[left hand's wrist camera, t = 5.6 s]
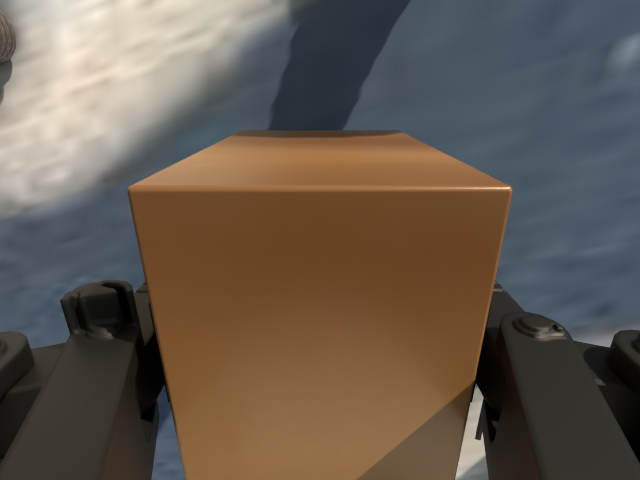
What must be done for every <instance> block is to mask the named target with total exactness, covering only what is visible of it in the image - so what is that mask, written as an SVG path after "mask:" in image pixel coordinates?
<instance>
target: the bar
mask: <svg viewBox="0 0 640 480" xmlns="http://www.w3.org/2000/svg"><path fill="white" fill-rule="evenodd" d="M512 193H513V192H512V187H511V186H509V185H507V184H505V183H503V182H501V181H499V180H497V179H495V178H493V177H491V176H489V175H487V174H485V173H483V172H481V171H479V170H477V169H475V168H473V167H471V166H469V165H467V164H465V163H463V162H461V161H459V160H457V159H455V158H453V157H451V156H449V155H447V154H445V153H443V152H441V151H439V150H437V149H435V148H433V147H431V146H428V145H426V144H424V143H422V142H420V141H418V140H416V139H414V138H412V137H410V136H408V135H406V134H404V133H402V132H400V131H398V130H242V131H240V132H238V133H236V134H234V135H232V136H230V137H228V138H226V139H224V140H222V141H220V142H218V143H216V144H214V145H212V146H210V147H208V148H206V149H204V150H202V151H200V152H198V153H196V154H194V155H192V156H190V157H188V158H186V159H184V160H182V161H180V162H178V163H176V164H174V165H172V166H170V167H168V168H166V169H164V170H162V171H160V172H158V173H156V174H154V175H152V176H150V177H148V178H146V179H143V180H141V181H139V182H137V183H135V184H133V185H131V186H129V188H128V197H129V202H130V207H131V212H132V217H133V222H134V227H135V232H136V237H137V242H138V246H139V251H140V256H141V261H142V266H143V271H144V276H145V281H146V286H147V291H148V296H149V301H150V306H151V311H152V316H153V321H154V326H155V331H156V336H157V341H158V346H159V351H160V356H161V361H162V366H163V371H164V376H165V381H166V386H167V391H168V395H169V400H170V405H171V410H172V415H173V420H174V425H175V430H176V435H177V440H178V445H179V450H180V455H181V460H182V465H183V470H184V475H185V480H455V476H456V471H457V466H458V461H459V456H460V451H461V446H462V441H463V436H464V431H465V426H466V421H467V416H468V411H469V406H470V401H471V396H472V392H473V387H474V382H475V377H476V372H477V367H478V362H479V357H480V352H481V347H482V342H483V337H484V332H485V327H486V322H487V317H488V312H489V307H490V302H491V297H492V292H493V287H494V282H495V277H496V272H497V267H498V262H499V257H500V252H501V247H502V242H503V237H504V232H505V227H506V222H507V217H508V212H509V207H510V202H511V198H512Z"/></svg>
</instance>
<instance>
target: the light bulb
mask: <svg viewBox="0 0 640 480" xmlns="http://www.w3.org/2000/svg"><path fill="white" fill-rule="evenodd" d="M15 48H16V37H15V32H14V29H13V27H12V25H11V23H10V21H9V19H8V18H7V16H6V15H5V14H4V12H3V11H2V10H1V9H0V64H3V63H5V62H6V61H8V60H9V59H10V58H11V57H12V55H13V54H14V51H15Z"/></svg>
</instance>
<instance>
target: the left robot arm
mask: <svg viewBox="0 0 640 480" xmlns="http://www.w3.org/2000/svg"><path fill="white" fill-rule="evenodd" d="M60 302H61V305H62V309H63V312H64V315H65V319H66V322H67V325H68V328H69V332H70V336H69V338H68V340H67V342H66V343H62V344H57V345H51V346H46V347H41V348H35V349H31V348H30V345H29V343H28V340H27V337H26V336H25V335H23V334H22V333H20V332H11V331H9V332H1V333H0V480H151V477H152V469H153V461H154V454H155V446H156V438H157V430H158V423H159V408H158V403H157V397H158V395H159V393H160V392H161V390H162V388H163V386H164V384H165V388H166V393H167V398H168V402H170V400H169V395H168V391H167V386H166V381H165V376H164V371H163V366H162V361H161V356H160V351H159V346H158V341H157V336H156V331H155V326H154V321H153V316H152V311H151V306H150V301H149V296H148V291H147V286H146V281H145V282H144V283H143V285H141V286H140V288H139V289H138V290H137V291H136V293H133V289H132V285H131V284H129V283H128V282H125V281H120V280H105V281H100V282H94V283H90V284H87V285H84V286H81V287H78V288H76V289H75V290H73V291H71V292H69V293H67V294H66V295H65V296H64V297H63V298H62V299H61V300H60ZM475 384H477V385H478V387H479V389H480V391H481V393H482V395H483V397H484V399H483V403H482V408H481V413H480V417H479V422H478V426H477V431H476V437H475V439H477V440H481V435H482V432H483V437H484V445H485V453H486V460H487V468H488V476H489V480H640V331H638V330H623V331H620V332H618V333H616V334H615V335H614V338H613V341H612V344H611V346H610V348H609V347H603V346H598V345H593V344H587V343H582V342H577V341H573V339H572V337H571V336H570V334H569V333H568V332H567V330H566V329H565V328H564V327H563V326H561V325H560V324H558V323H557V322H555V321H554V320H551V319H549V318H546V317H544V316H542V315H538V314H534V313H529V312H525V311H524V310H523V309H522V308H521V307H520V306H519V305H518V304H517V303H516V302H515V301H514V300H513V298H512V297H511V296H510V295H509V294H508V293H507V292H504V289H503V288H502V287H501V286H500V284H497V281H496V280H495V282H494V287H493V292H492V297H491V302H490V307H489V312H488V317H487V322H486V327H485V332H484V337H483V342H482V347H481V352H480V357H479V362H478V367H477V372H476V377H475V382H474V387H473V392H472V396H471V401H470V402H472V399H473V394H474V389H475Z"/></svg>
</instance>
